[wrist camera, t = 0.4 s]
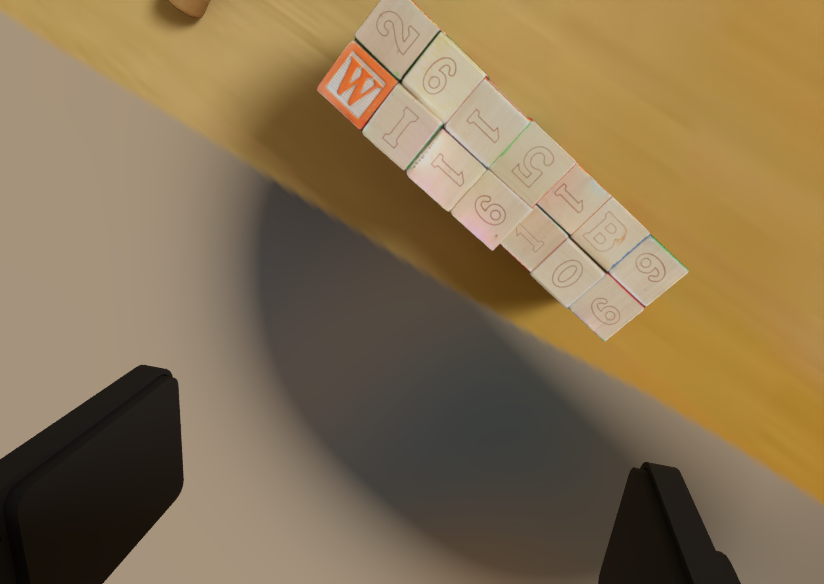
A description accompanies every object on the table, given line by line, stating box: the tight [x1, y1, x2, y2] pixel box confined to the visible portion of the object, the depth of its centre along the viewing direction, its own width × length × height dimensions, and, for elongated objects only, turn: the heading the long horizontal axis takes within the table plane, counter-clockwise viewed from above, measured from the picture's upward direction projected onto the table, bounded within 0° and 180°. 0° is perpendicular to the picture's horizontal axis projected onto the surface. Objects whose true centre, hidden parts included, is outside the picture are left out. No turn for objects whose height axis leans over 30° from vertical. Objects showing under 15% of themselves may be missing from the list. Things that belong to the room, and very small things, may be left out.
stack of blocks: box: [317, 0, 689, 341], centre depth 32 cm, size 21×6×12 cm, turn 49°
